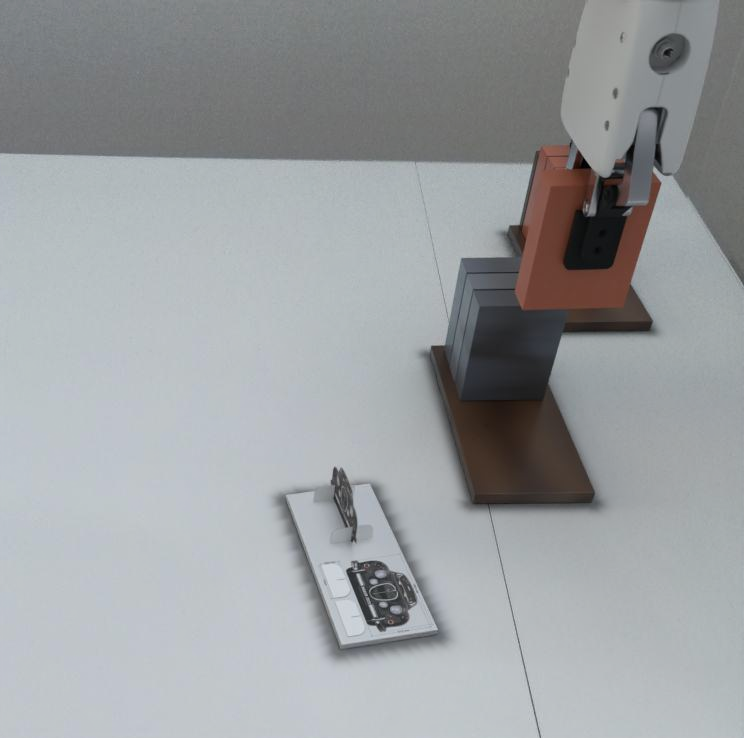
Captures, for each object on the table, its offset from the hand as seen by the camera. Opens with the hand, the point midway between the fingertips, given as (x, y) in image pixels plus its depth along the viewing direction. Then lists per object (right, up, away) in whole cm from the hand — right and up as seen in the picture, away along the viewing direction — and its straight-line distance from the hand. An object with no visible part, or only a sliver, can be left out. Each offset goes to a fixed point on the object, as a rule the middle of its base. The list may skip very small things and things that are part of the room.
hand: (580, 253), depth 66 cm
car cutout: (-15, -21, +4) cm, 26 cm away
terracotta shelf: (+11, +7, +31) cm, 34 cm away
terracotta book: (0, -3, +3) cm, 4 cm away
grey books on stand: (-1, -10, +15) cm, 18 cm away
